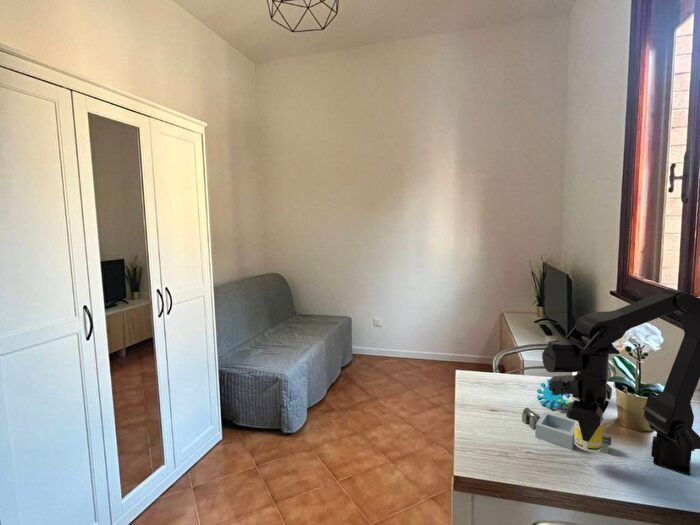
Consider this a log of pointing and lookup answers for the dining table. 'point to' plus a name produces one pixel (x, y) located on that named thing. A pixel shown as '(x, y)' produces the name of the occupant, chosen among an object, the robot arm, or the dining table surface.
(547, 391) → the gear
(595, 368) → the robot arm
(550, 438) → the housing
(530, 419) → the shaft
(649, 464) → the dining table surface
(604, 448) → the shaft
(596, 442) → the supplement bottle
